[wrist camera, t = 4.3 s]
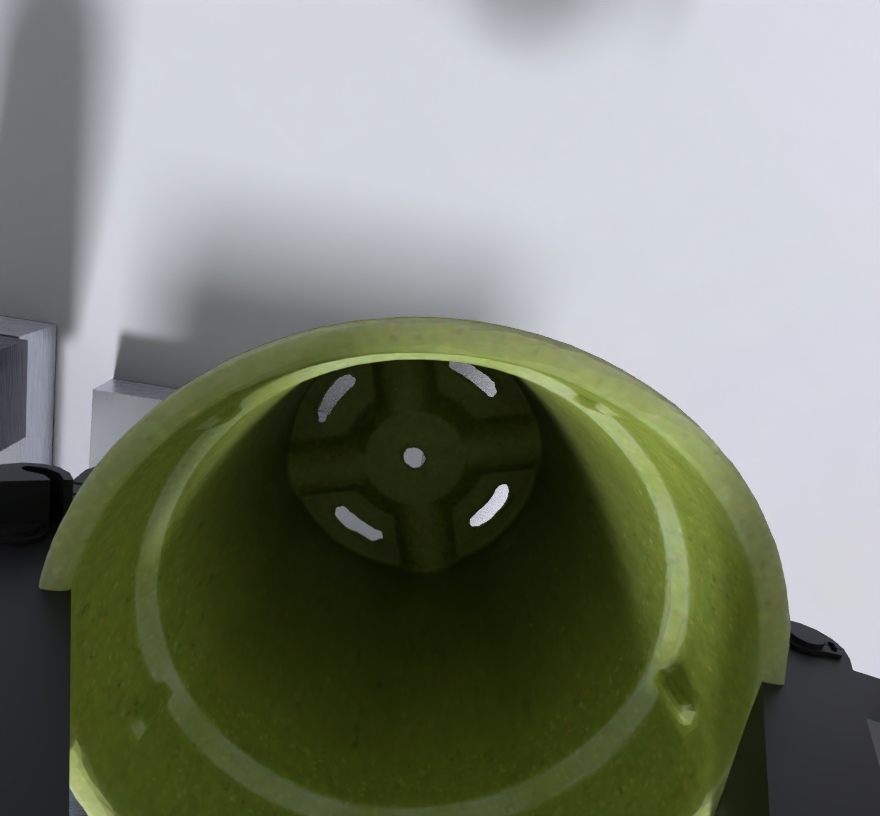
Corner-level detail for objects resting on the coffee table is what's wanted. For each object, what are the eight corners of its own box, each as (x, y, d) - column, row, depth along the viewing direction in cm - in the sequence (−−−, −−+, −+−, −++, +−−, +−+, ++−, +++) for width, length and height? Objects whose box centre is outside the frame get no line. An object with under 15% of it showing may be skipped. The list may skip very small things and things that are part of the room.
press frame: (-16, 313, 30) (-811, 499, 11) (432, 386, 32) (458, 666, 12) (-19, 754, 36) (-534, 1397, 17) (358, 797, 38) (297, 1434, 18)
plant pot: (691, 405, 17) (954, 609, 9) (460, 680, 19) (492, 1059, 11) (364, 166, 15) (299, 129, 7) (150, 498, 17) (-101, 780, 9)
